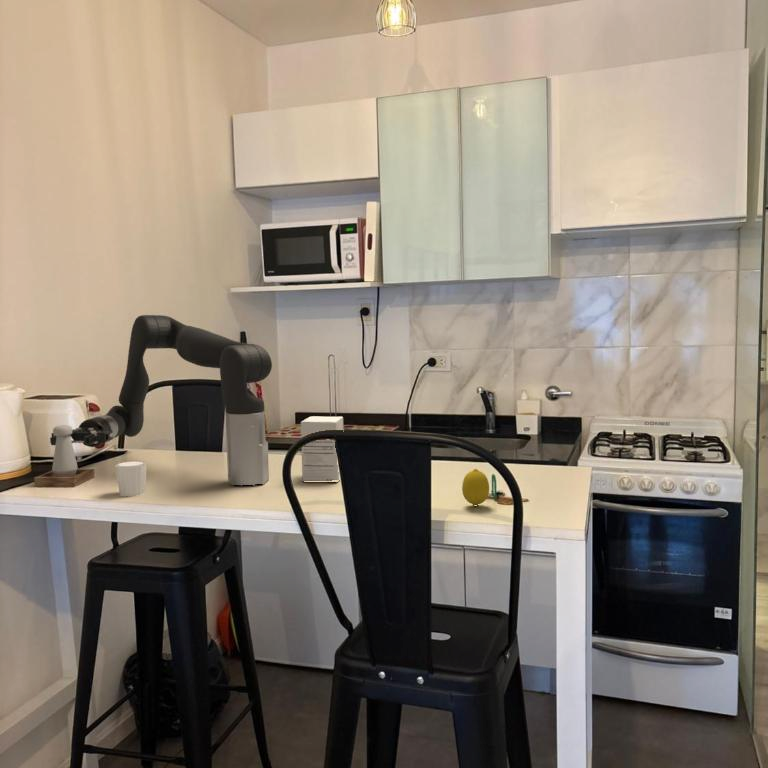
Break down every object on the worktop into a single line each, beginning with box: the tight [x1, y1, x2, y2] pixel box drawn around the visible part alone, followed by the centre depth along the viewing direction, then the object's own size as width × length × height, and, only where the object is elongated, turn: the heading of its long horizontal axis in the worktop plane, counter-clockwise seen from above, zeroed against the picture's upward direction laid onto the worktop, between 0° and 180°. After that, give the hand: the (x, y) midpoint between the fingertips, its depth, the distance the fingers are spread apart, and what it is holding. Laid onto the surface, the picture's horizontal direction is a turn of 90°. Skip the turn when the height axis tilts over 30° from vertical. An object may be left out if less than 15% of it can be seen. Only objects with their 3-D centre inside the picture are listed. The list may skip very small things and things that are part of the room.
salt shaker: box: [51, 424, 79, 477], centre depth 180 cm, size 6×6×13 cm
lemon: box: [461, 468, 490, 506], centre depth 151 cm, size 6×6×8 cm
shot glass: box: [114, 460, 147, 497], centre depth 167 cm, size 7×7×7 cm
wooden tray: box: [33, 468, 95, 488], centre depth 180 cm, size 10×10×2 cm
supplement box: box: [300, 415, 344, 482], centre depth 178 cm, size 9×9×15 cm
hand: (68, 441), depth 183 cm, fingers open, 8 cm apart
